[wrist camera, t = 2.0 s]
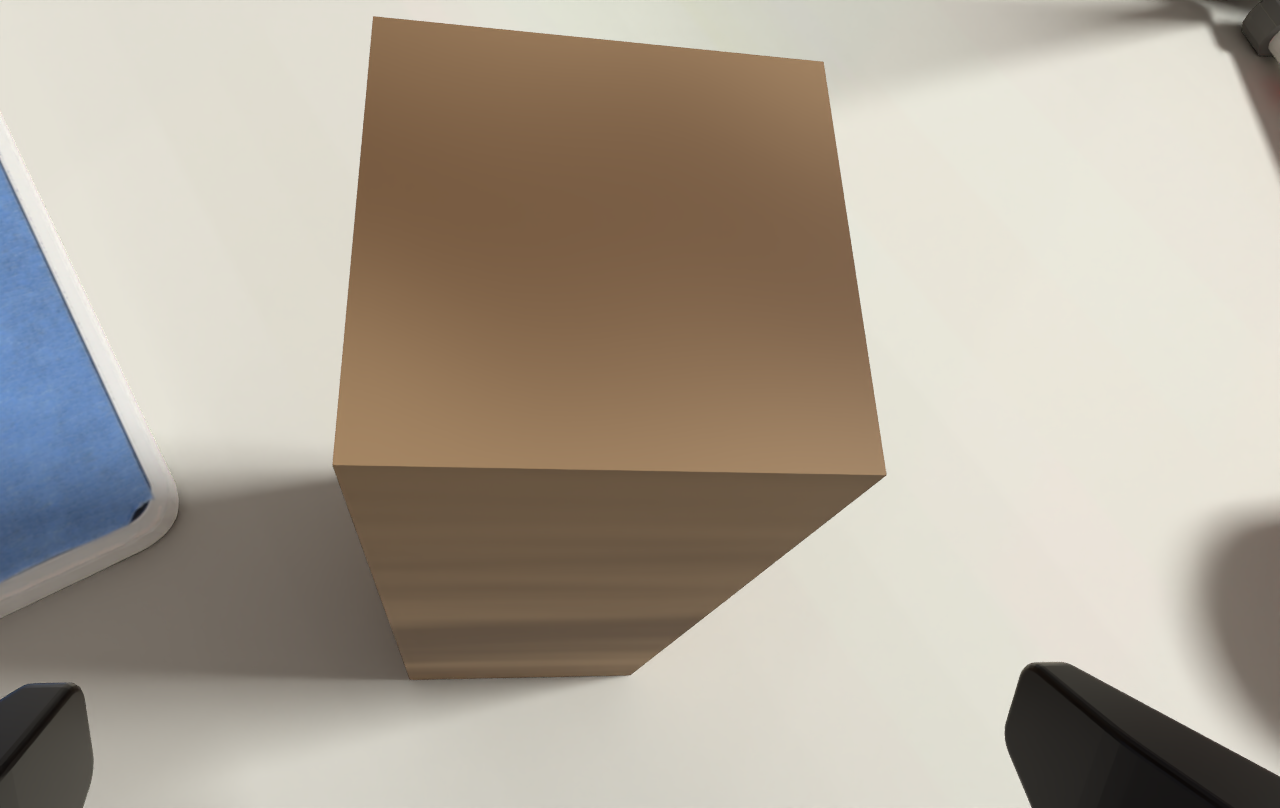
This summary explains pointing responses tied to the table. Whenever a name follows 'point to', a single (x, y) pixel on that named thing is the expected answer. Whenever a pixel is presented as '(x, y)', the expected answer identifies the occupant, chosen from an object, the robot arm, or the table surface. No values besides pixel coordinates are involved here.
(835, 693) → the table surface
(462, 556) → the walnut block
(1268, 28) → the toy hammer
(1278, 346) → the table surface
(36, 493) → the tablet computer
